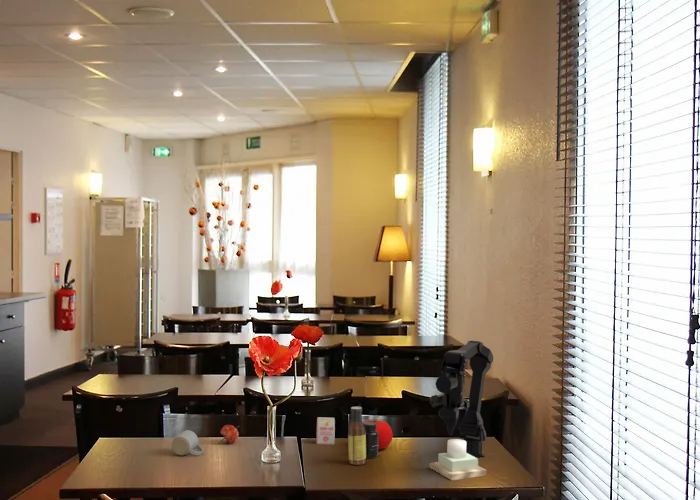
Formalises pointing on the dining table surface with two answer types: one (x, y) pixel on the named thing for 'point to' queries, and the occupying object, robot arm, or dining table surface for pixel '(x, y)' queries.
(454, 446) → the white cylinder
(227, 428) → the red mushroom
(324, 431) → the white red carton
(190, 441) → the ceramic mug
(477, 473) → the birch base slab
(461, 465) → the sage top block
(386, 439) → the tomato
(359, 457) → the sauce bottle
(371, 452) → the supplement bottle
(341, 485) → the dining table surface
